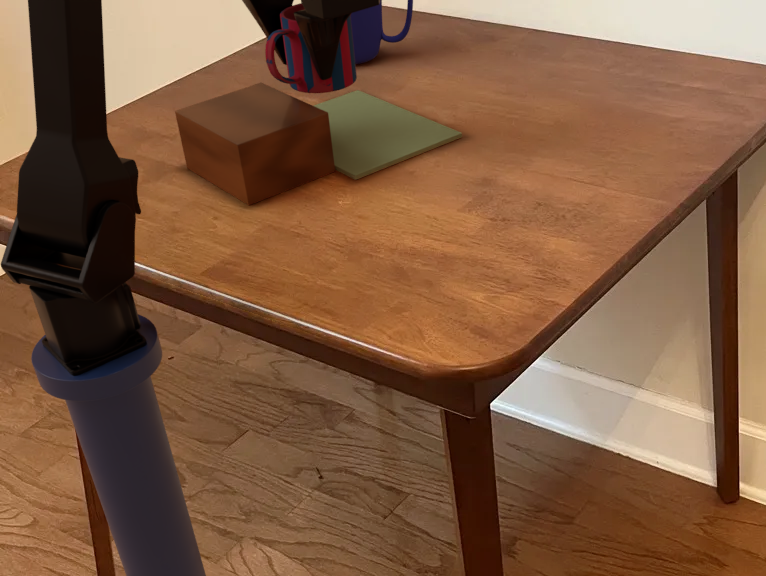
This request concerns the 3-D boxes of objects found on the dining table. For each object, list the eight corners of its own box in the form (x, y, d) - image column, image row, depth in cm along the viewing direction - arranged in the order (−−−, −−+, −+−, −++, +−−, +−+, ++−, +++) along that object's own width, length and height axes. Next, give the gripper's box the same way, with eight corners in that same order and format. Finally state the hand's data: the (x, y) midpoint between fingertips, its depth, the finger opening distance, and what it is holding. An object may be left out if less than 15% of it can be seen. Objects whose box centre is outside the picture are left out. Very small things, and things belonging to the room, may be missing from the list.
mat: (355, 180, 98) (354, 175, 98) (256, 130, 110) (256, 125, 110) (462, 137, 105) (462, 132, 104) (358, 94, 116) (357, 89, 116)
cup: (370, 78, 101) (364, 7, 97) (291, 109, 96) (281, 35, 92) (327, 65, 105) (319, -4, 101) (249, 94, 100) (237, 22, 96)
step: (248, 205, 96) (237, 144, 92) (186, 168, 103) (174, 110, 100) (335, 171, 100) (328, 112, 97) (270, 138, 108) (261, 82, 104)
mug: (418, 65, 122) (412, -23, 116) (317, 72, 123) (306, -16, 116) (417, 42, 129) (412, -43, 122) (321, 49, 129) (311, -35, 123)
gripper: (422, -110, 88) (431, 71, 98) (301, -132, 100) (320, 31, 110) (315, -85, 83) (336, 103, 93) (202, -111, 95) (231, 58, 105)
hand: (307, 71), depth 100 cm, fingers closed on cup, 6 cm apart
